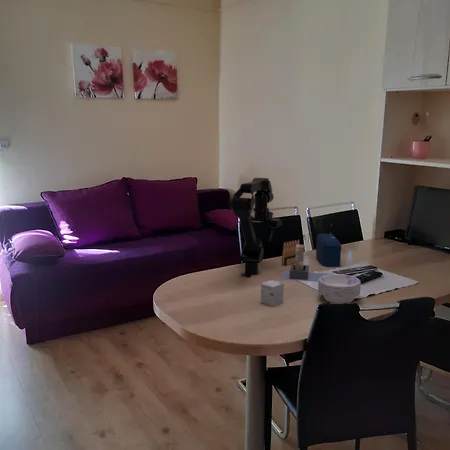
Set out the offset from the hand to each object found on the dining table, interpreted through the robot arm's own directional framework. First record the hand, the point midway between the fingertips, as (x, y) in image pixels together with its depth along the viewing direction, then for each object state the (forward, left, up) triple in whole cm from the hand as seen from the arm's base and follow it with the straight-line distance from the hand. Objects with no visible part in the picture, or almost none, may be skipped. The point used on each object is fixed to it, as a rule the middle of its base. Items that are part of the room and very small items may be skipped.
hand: (260, 239), depth 211 cm
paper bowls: (-22, -44, -13) cm, 51 cm away
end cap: (-6, -22, -12) cm, 25 cm away
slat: (-6, -22, -11) cm, 25 cm away
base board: (-4, -26, -13) cm, 29 cm away
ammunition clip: (+10, -11, -13) cm, 20 cm away
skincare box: (-37, -24, -13) cm, 46 cm away
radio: (+24, -24, -13) cm, 36 cm away
